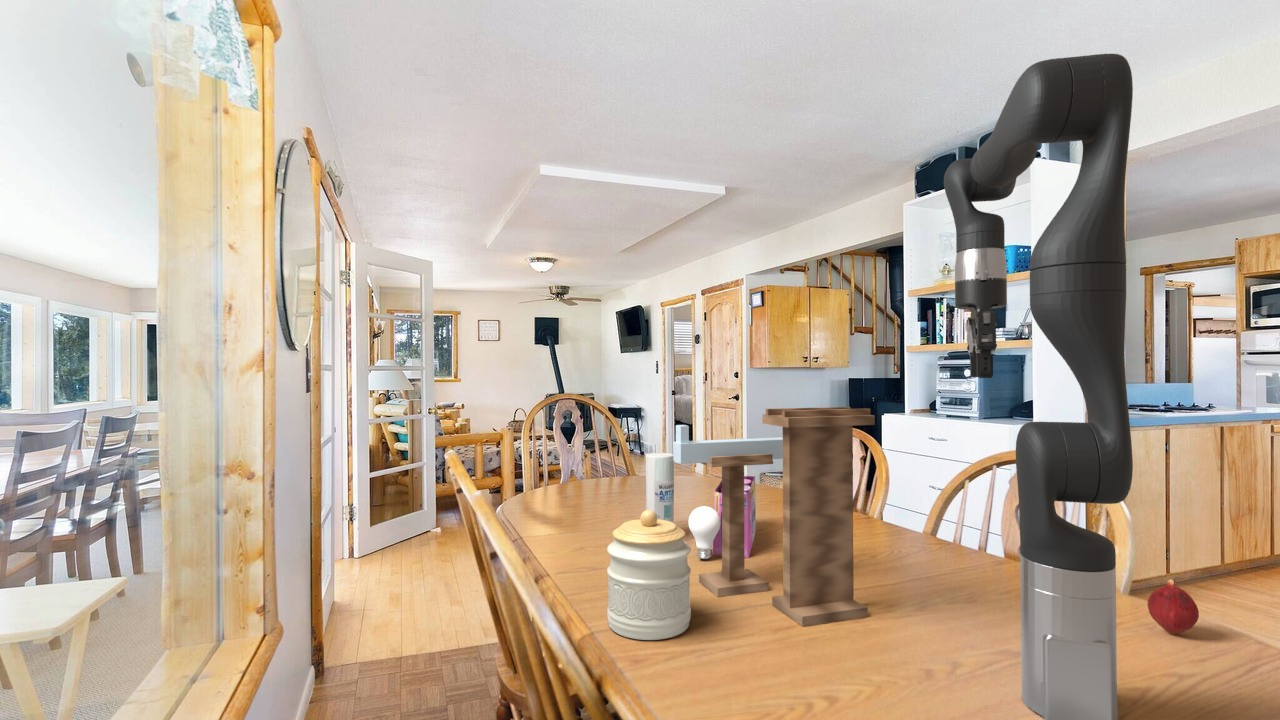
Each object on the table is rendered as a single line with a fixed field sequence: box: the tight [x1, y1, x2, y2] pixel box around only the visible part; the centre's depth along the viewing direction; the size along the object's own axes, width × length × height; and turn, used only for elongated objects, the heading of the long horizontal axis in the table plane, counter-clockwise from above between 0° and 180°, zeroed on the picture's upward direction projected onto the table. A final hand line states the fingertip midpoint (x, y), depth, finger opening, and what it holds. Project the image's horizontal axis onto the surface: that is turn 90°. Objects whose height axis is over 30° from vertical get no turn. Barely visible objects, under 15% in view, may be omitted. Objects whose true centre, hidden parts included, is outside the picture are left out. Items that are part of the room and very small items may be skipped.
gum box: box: [712, 475, 757, 559], centre depth 143 cm, size 24×8×14 cm, turn 166°
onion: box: [1147, 578, 1200, 635], centre depth 94 cm, size 6×6×8 cm
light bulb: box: [687, 505, 721, 561], centre depth 131 cm, size 7×7×11 cm
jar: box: [606, 509, 692, 641], centre depth 98 cm, size 13×13×18 cm
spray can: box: [645, 452, 675, 524], centre depth 144 cm, size 6×6×20 cm
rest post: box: [698, 454, 774, 598], centre depth 115 cm, size 12×8×24 cm, turn 108°
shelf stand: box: [761, 406, 876, 627], centre depth 103 cm, size 16×9×33 cm, turn 108°
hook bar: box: [672, 424, 783, 465], centre depth 116 cm, size 26×4×6 cm, turn 108°
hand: (981, 377), depth 103 cm, fingers open, 8 cm apart
